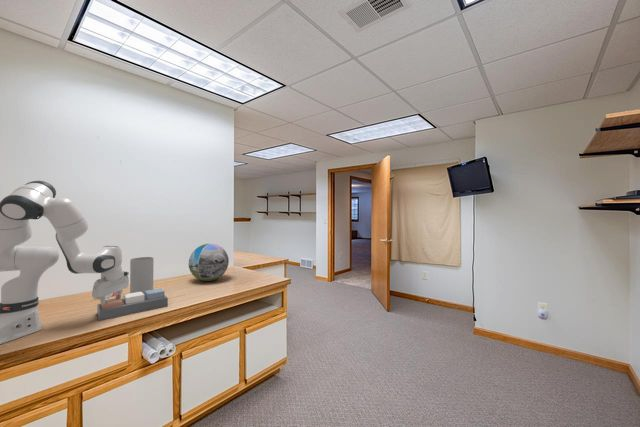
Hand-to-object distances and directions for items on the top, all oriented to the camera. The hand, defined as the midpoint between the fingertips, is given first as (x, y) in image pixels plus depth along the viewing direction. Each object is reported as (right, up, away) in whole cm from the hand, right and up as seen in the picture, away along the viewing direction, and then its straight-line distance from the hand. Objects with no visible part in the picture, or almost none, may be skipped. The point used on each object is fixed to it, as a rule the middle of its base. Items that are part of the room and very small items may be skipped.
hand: (111, 301), depth 142 cm
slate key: (+14, -3, +14) cm, 20 cm away
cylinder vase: (-3, -7, +29) cm, 30 cm away
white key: (+7, -3, +7) cm, 10 cm away
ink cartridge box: (-25, -7, +30) cm, 40 cm away
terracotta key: (0, -4, 0) cm, 4 cm away
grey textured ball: (+22, -8, +72) cm, 76 cm away
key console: (+7, -7, +7) cm, 12 cm away
